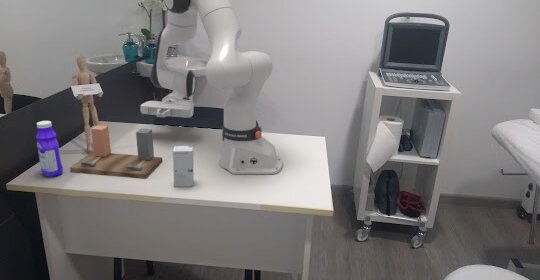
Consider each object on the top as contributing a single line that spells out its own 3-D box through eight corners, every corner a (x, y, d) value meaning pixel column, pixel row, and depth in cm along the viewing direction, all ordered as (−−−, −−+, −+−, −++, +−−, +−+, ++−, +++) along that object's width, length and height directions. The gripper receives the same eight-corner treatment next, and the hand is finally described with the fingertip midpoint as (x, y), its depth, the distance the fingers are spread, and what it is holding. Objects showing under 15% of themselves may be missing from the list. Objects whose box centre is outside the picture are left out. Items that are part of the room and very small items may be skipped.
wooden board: (162, 161, 144) (162, 154, 143) (146, 178, 131) (145, 171, 130) (93, 155, 147) (92, 148, 146) (70, 171, 134) (69, 164, 133)
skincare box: (173, 187, 126) (171, 151, 122) (174, 180, 130) (173, 145, 126) (193, 186, 127) (192, 151, 123) (194, 180, 131) (193, 145, 127)
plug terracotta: (111, 152, 145) (108, 126, 142) (105, 156, 142) (102, 129, 138) (100, 151, 146) (97, 125, 142) (94, 155, 142) (91, 128, 138)
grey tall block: (154, 156, 144) (152, 129, 140) (149, 160, 140) (147, 133, 136) (143, 155, 144) (140, 128, 140) (138, 159, 140) (136, 132, 137)
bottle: (39, 172, 133) (29, 121, 126) (57, 167, 137) (49, 117, 130) (47, 179, 128) (38, 127, 122) (66, 174, 132) (58, 123, 126)
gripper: (147, 95, 165) (132, 104, 152) (196, 99, 163) (185, 109, 150) (148, 110, 167) (134, 120, 155) (197, 114, 165) (186, 125, 153)
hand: (160, 115), depth 152 cm, fingers closed
